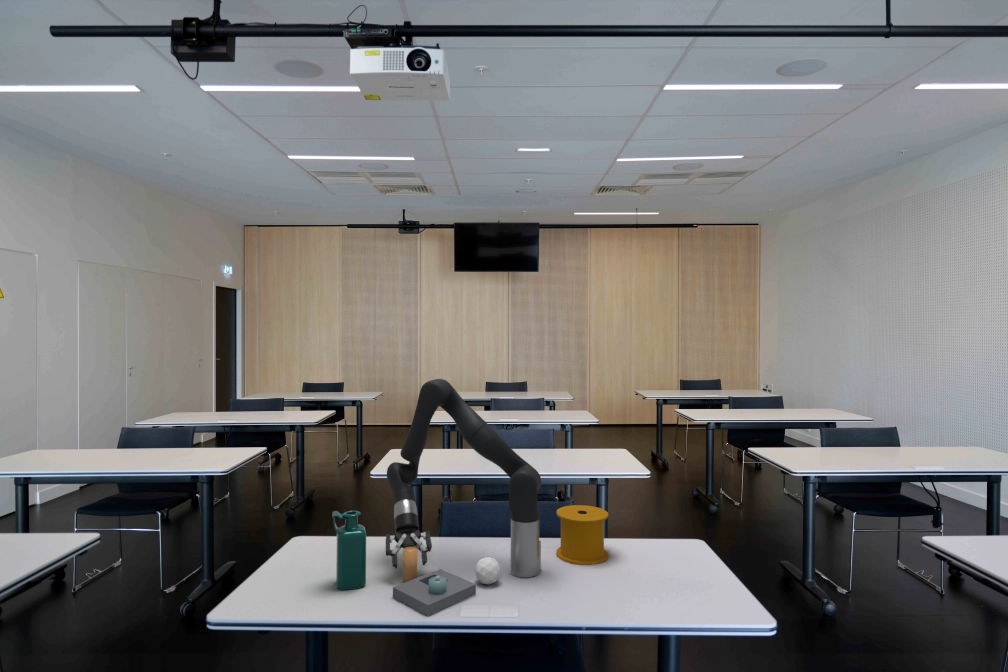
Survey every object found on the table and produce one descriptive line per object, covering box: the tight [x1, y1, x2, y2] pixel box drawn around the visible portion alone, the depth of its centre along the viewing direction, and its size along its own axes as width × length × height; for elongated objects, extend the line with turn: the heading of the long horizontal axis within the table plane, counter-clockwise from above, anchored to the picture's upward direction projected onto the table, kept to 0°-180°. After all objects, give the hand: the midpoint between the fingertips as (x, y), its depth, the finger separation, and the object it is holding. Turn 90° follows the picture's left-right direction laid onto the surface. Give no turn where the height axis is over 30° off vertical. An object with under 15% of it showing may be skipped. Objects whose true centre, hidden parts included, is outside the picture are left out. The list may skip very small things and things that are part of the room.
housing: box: [392, 568, 477, 617], centre depth 161 cm, size 18×16×7 cm
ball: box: [474, 556, 501, 586], centre depth 170 cm, size 8×8×8 cm
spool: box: [555, 504, 609, 566], centre depth 193 cm, size 18×18×15 cm
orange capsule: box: [402, 547, 418, 583], centre depth 171 cm, size 4×4×10 cm
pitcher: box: [332, 510, 367, 591], centre depth 169 cm, size 10×8×22 cm
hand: (410, 566), depth 170 cm, fingers open, 8 cm apart
